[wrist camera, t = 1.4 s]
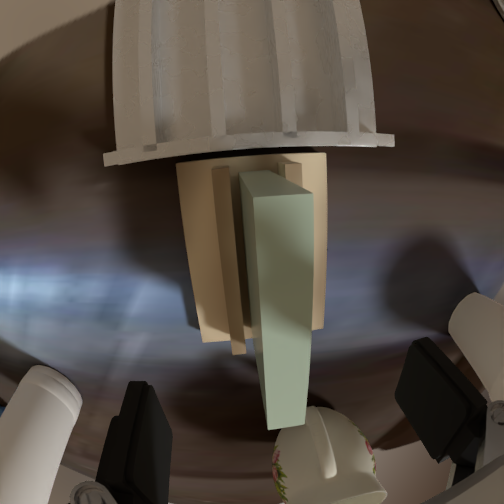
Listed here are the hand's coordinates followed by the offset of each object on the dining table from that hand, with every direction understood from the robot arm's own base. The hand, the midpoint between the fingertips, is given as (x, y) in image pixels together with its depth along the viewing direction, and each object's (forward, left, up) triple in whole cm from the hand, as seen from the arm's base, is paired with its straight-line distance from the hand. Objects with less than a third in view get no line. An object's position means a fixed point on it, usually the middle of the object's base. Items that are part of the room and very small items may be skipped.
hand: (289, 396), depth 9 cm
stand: (0, 0, -14) cm, 14 cm away
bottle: (+25, +15, -14) cm, 32 cm away
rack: (0, -16, -14) cm, 22 cm away
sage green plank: (0, 0, -13) cm, 13 cm away
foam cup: (-25, +11, -14) cm, 31 cm away
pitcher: (-5, +22, -14) cm, 27 cm away
